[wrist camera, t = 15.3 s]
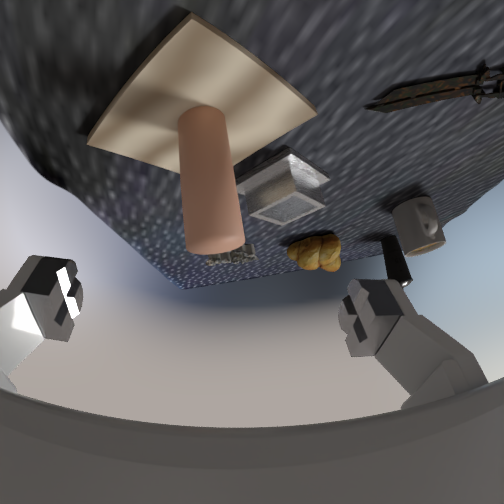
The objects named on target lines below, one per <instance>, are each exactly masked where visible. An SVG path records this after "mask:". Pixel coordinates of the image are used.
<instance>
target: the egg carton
mask: <svg viewBox="0 0 504 504" xmlns="http://www.w3.org/2000/svg"><path fill="white" fill-rule="evenodd" d="M208 257H209V260H208V261H207V262H206V265H209V266H210V265H212V266H213V265H215V264H216V263H218V264H220V263H221V262H222V263H231V262H233V263H234V264H238V263H239V262H241V263H242V264H243V263H244V262H249V261H251V262H252V260H259V259H258V258H257V257H256V256H255V250H254V244H248V245H244V244H243V245H242V246H240V247H239V248H236V249H234V250H231V254H230V251H228V252H224V253H218V254H208Z"/></svg>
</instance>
